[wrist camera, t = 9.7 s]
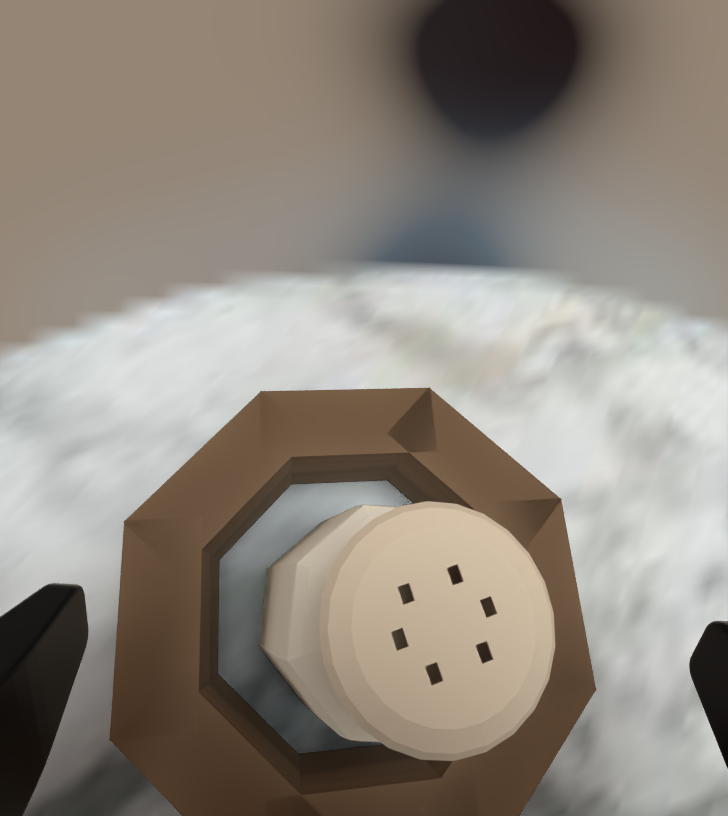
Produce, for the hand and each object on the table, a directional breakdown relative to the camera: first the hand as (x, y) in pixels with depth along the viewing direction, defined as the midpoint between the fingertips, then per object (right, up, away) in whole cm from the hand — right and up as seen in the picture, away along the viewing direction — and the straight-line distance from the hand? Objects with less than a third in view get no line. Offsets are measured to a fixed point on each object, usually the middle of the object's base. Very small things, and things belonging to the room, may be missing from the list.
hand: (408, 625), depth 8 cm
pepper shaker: (-1, -3, +9) cm, 9 cm away
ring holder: (-1, -3, +9) cm, 9 cm away
